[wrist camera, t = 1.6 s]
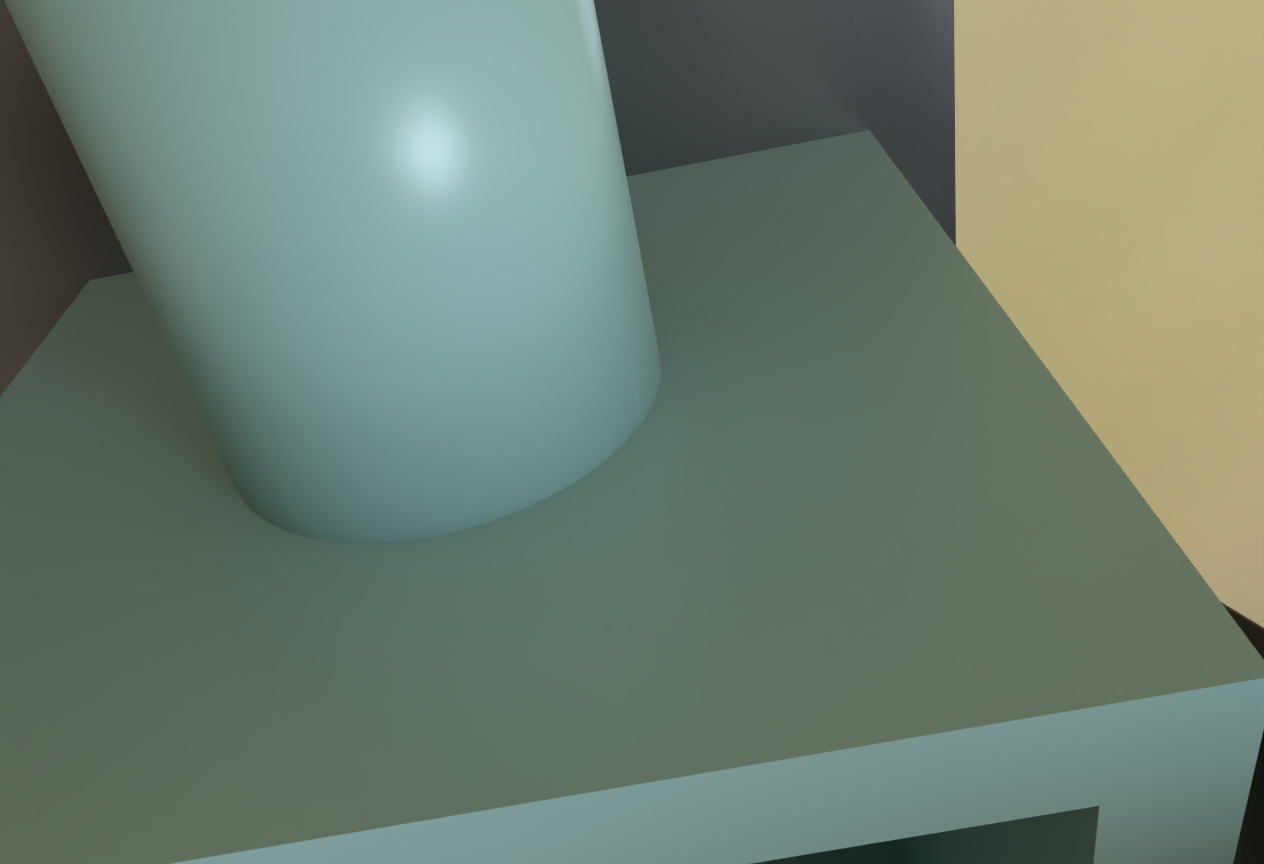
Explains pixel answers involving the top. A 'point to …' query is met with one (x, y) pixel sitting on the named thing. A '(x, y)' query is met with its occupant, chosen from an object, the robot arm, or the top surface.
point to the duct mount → (643, 105)
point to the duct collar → (556, 490)
